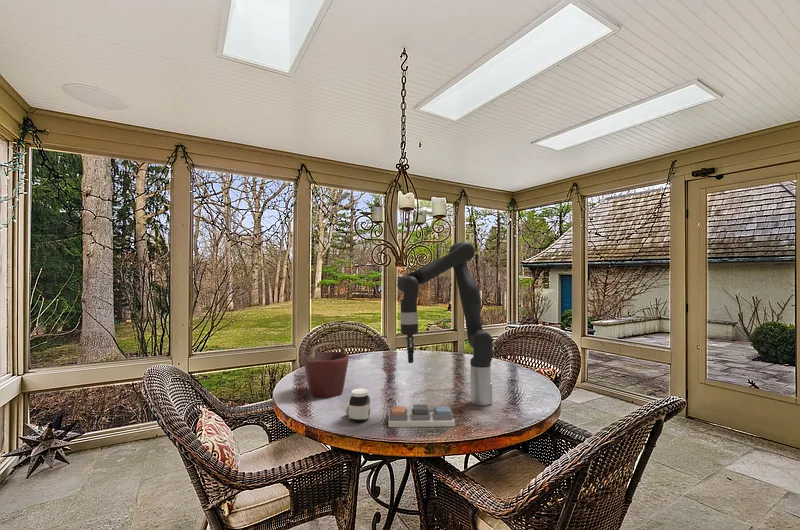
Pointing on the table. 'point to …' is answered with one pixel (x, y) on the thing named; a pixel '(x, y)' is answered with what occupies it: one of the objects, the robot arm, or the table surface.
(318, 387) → the bucket
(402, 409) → the terracotta key
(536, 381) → the table surface
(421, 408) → the charcoal key
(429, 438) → the table surface
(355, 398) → the spread jar
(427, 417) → the key panel
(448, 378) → the table surface
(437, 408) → the slate key
